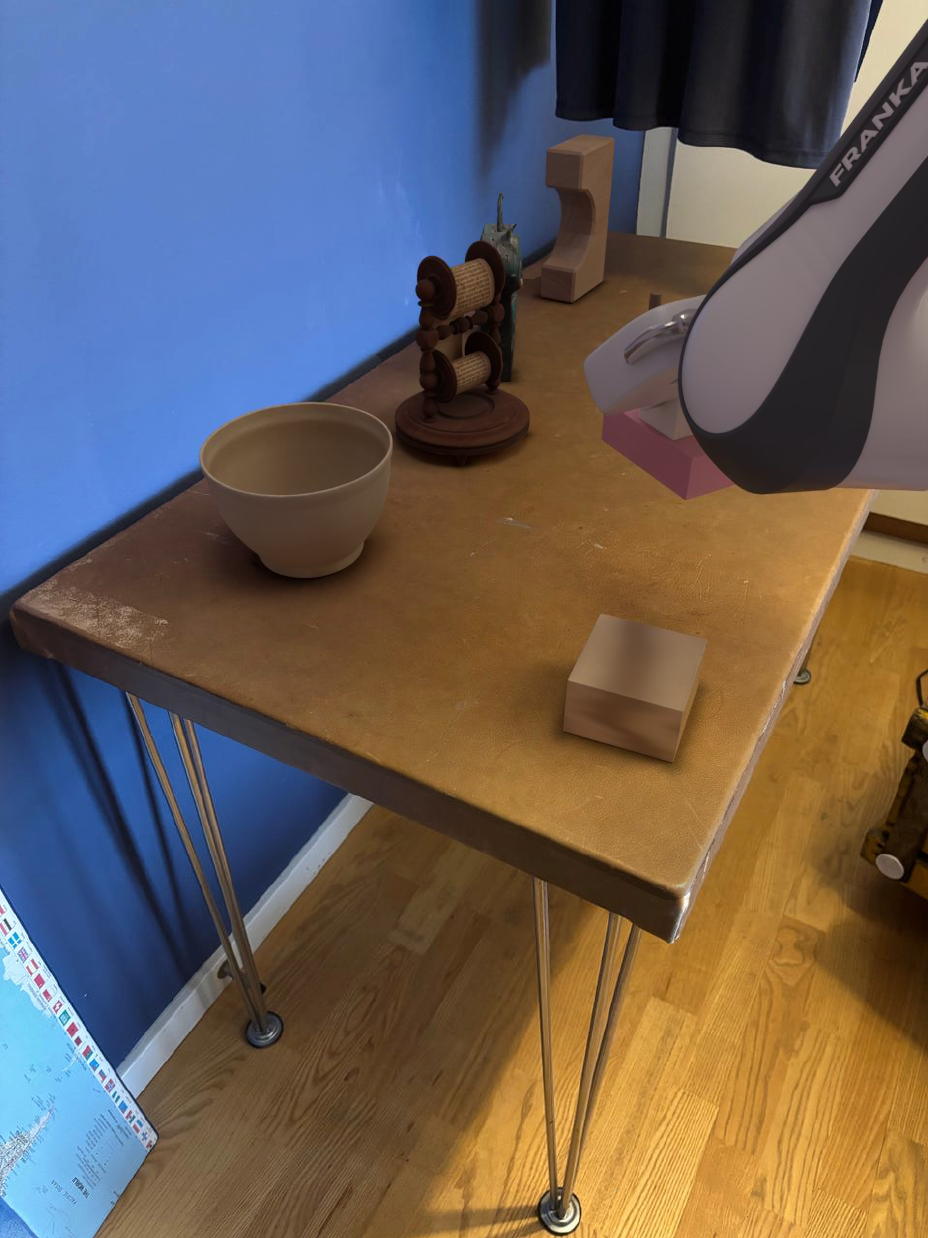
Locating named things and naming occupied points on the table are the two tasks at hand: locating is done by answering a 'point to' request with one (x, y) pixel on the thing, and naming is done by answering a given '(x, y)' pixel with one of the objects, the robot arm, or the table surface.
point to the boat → (664, 445)
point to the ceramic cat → (505, 284)
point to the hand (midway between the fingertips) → (677, 389)
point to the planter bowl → (300, 483)
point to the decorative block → (578, 215)
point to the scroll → (461, 361)
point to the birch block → (634, 686)
